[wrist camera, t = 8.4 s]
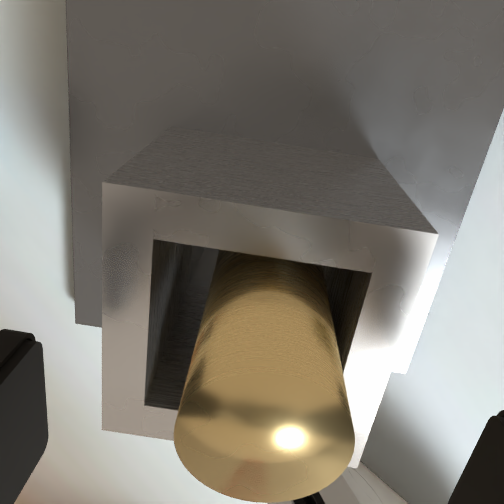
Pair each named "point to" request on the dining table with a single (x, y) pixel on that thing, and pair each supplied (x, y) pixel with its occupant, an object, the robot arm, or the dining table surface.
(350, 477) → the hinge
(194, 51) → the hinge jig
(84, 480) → the dining table surface
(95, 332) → the dining table surface
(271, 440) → the brass pin
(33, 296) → the dining table surface
